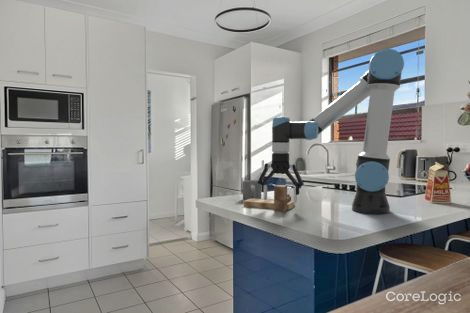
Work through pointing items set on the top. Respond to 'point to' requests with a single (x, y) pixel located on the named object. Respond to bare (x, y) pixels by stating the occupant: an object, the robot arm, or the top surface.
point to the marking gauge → (281, 198)
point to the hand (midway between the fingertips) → (280, 201)
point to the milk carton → (438, 185)
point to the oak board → (264, 203)
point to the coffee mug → (251, 189)
